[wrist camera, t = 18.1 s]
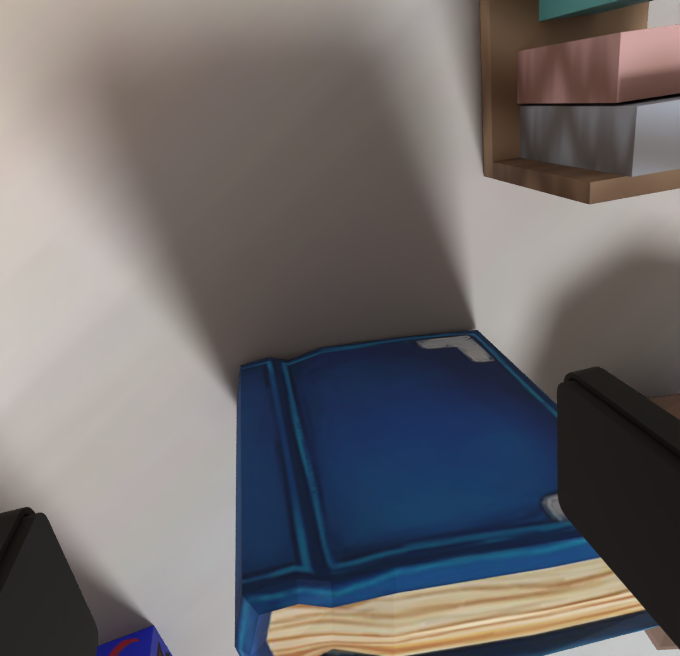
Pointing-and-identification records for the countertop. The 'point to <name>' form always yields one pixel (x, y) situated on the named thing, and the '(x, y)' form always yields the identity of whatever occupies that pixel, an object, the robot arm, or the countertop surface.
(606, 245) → the countertop surface
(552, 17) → the teal book
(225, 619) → the countertop surface
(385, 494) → the book
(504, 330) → the countertop surface
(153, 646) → the cereal box
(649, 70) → the shelf
